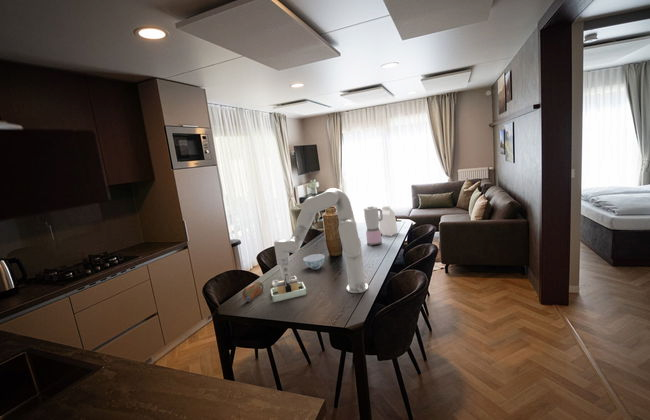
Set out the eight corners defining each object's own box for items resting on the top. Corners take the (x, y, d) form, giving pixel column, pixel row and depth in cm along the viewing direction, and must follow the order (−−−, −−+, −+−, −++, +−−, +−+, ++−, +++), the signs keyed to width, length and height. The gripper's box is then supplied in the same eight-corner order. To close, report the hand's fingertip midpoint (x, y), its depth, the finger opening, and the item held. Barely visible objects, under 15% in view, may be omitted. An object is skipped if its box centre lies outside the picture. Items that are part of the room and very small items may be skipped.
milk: (380, 235, 281) (377, 207, 276) (386, 231, 289) (383, 205, 285) (391, 235, 273) (389, 207, 269) (397, 232, 281) (395, 205, 277)
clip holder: (299, 285, 190) (298, 280, 189) (273, 291, 186) (272, 286, 185) (296, 278, 201) (295, 273, 201) (272, 284, 198) (271, 279, 197)
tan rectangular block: (299, 291, 179) (297, 280, 178) (278, 296, 176) (277, 285, 175) (298, 289, 182) (296, 278, 181) (278, 294, 179) (276, 283, 178)
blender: (370, 247, 248) (365, 208, 243) (365, 243, 260) (360, 206, 255) (388, 243, 252) (384, 205, 246) (382, 240, 263) (378, 204, 258)
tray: (306, 294, 176) (306, 288, 175) (273, 302, 171) (272, 296, 171) (303, 286, 187) (302, 281, 186) (271, 294, 183) (270, 288, 182)
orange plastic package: (246, 304, 173) (244, 290, 172) (242, 303, 175) (240, 289, 174) (264, 292, 186) (262, 279, 184) (261, 292, 187) (258, 279, 186)
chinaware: (323, 271, 209) (322, 260, 207) (302, 272, 212) (301, 261, 211) (327, 263, 223) (326, 253, 222) (307, 264, 226) (306, 254, 225)
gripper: (292, 263, 168) (296, 294, 171) (287, 255, 185) (292, 283, 188) (278, 266, 167) (283, 297, 170) (275, 257, 183) (280, 286, 186)
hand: (288, 289), depth 179 cm, fingers open, 5 cm apart
